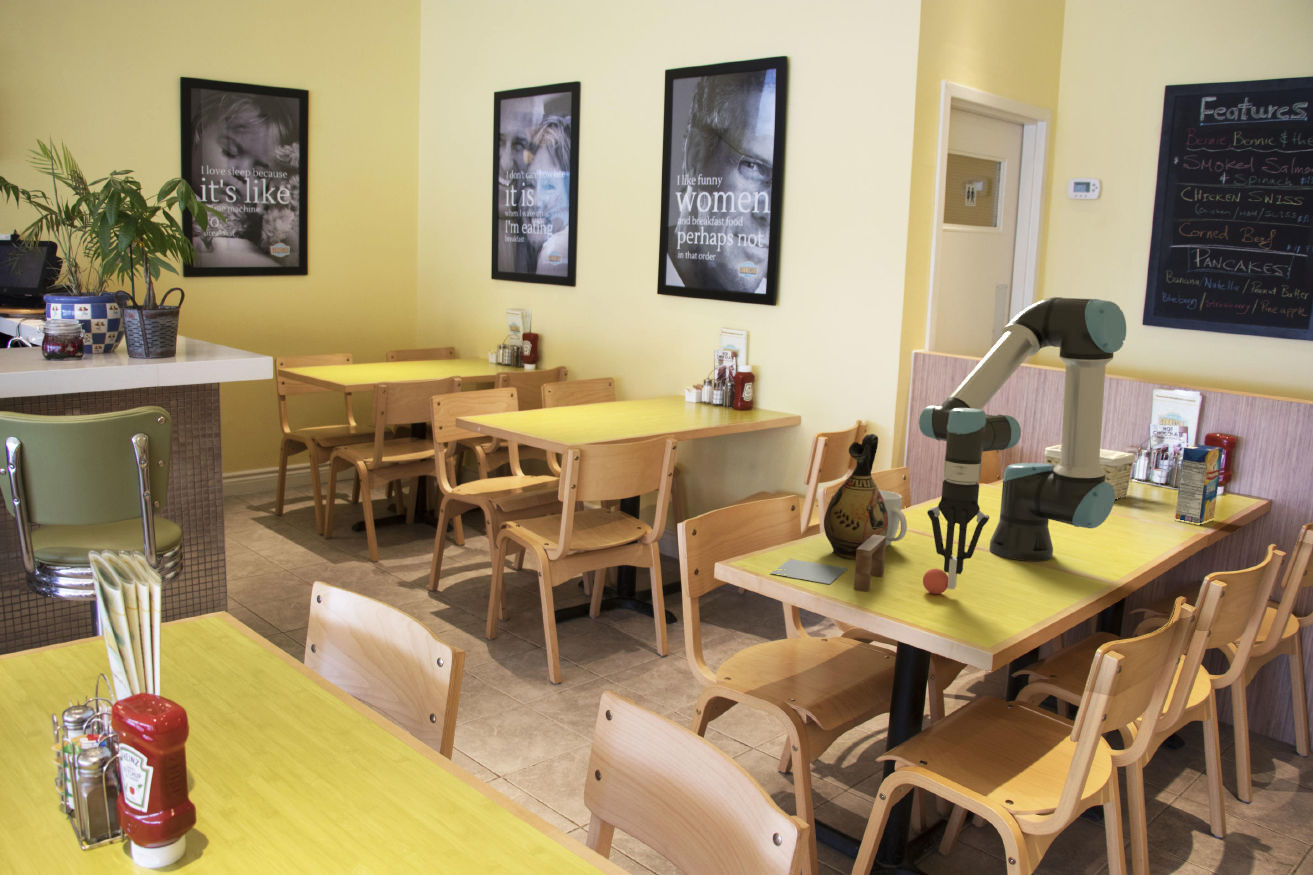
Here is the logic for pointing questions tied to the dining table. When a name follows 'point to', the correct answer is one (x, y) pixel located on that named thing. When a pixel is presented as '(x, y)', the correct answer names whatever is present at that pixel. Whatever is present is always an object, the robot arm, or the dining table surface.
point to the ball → (935, 581)
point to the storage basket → (1104, 467)
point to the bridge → (869, 561)
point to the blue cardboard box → (1198, 483)
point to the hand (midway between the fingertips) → (951, 587)
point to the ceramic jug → (856, 504)
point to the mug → (894, 516)
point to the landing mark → (810, 571)
